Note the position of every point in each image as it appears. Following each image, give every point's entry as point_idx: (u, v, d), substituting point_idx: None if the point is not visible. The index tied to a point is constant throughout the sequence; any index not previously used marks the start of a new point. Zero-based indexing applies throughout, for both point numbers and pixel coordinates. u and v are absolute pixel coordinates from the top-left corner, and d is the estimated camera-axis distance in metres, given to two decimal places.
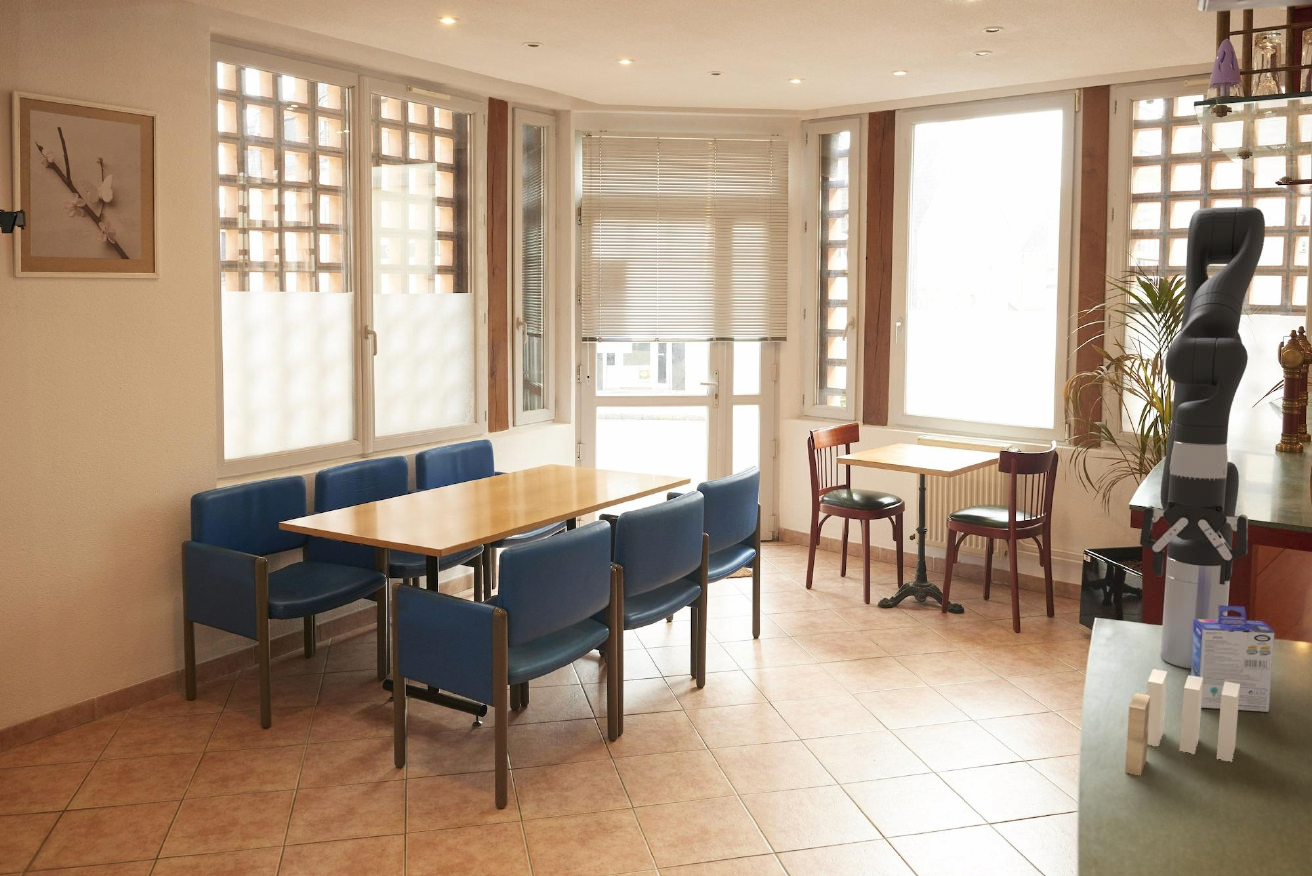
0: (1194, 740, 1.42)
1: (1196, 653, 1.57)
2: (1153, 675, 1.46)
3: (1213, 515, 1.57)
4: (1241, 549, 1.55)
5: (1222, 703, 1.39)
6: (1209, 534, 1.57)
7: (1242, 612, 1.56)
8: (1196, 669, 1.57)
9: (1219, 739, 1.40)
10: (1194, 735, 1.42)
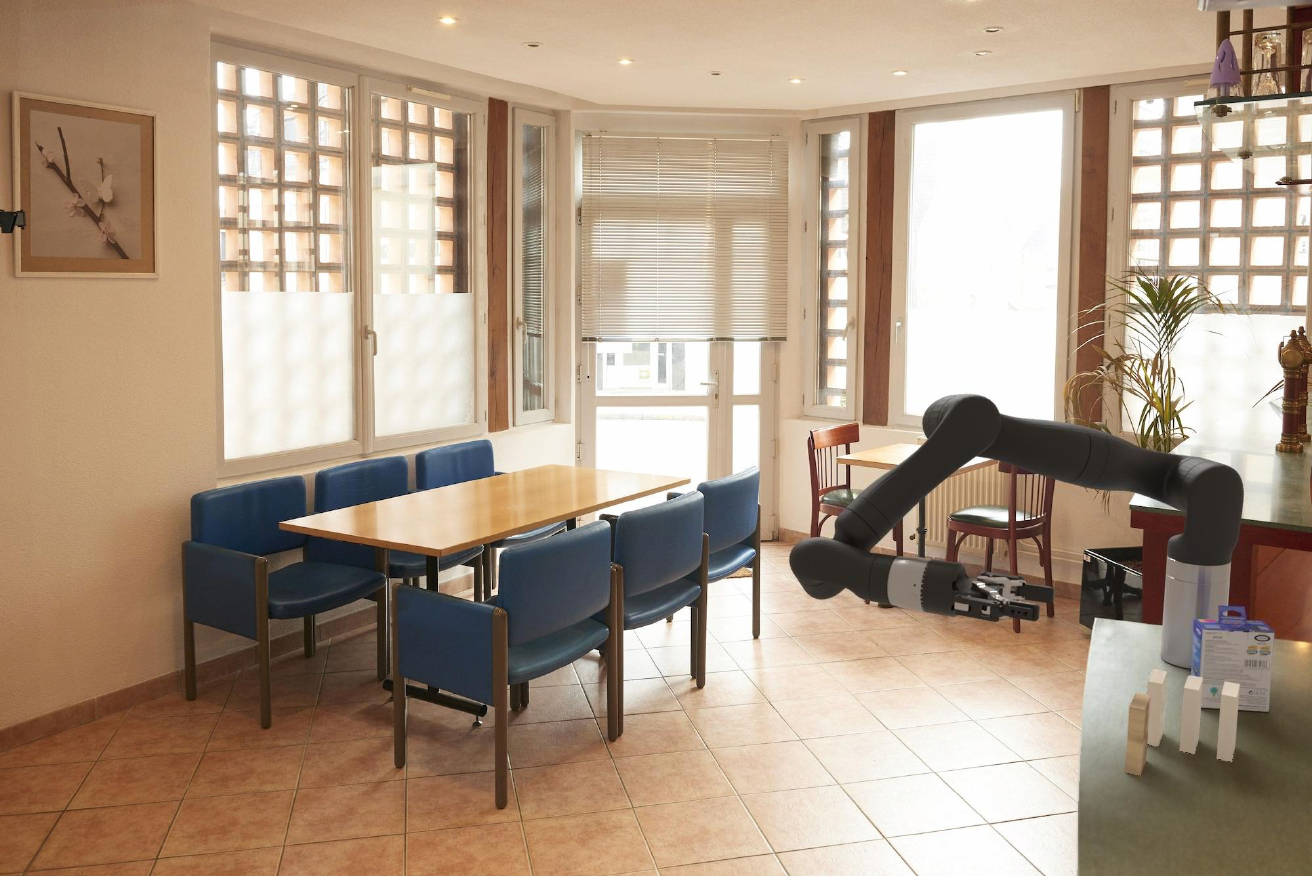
0: (1194, 740, 1.42)
1: (1196, 653, 1.57)
2: (1153, 675, 1.46)
3: None
4: None
5: (1222, 703, 1.39)
6: None
7: (1242, 612, 1.56)
8: (1196, 669, 1.57)
9: (1219, 739, 1.40)
10: (1194, 735, 1.42)
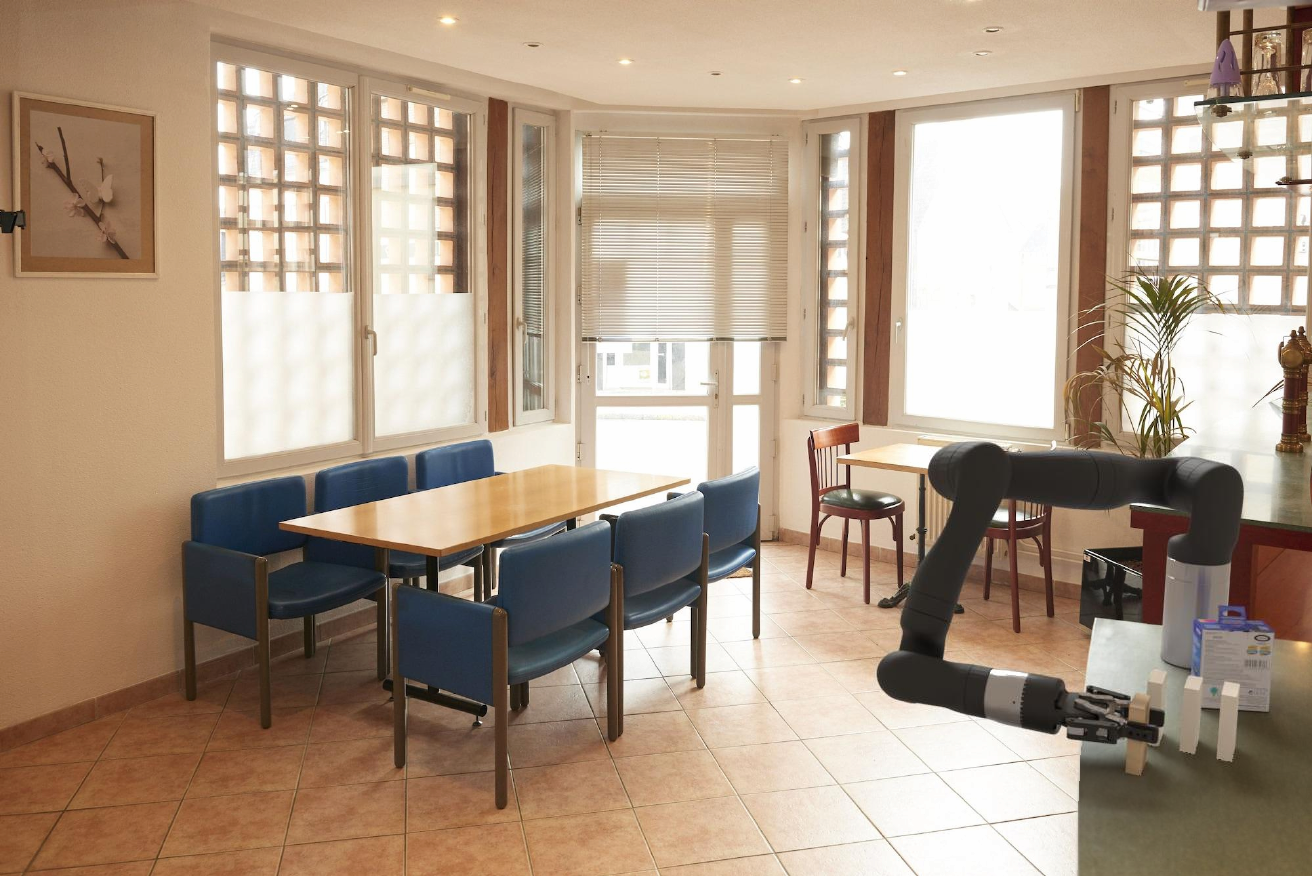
0: (1194, 740, 1.42)
1: (1196, 653, 1.57)
2: (1153, 675, 1.46)
3: None
4: None
5: (1222, 703, 1.39)
6: None
7: (1242, 612, 1.56)
8: (1196, 669, 1.57)
9: (1219, 739, 1.40)
10: (1194, 735, 1.42)
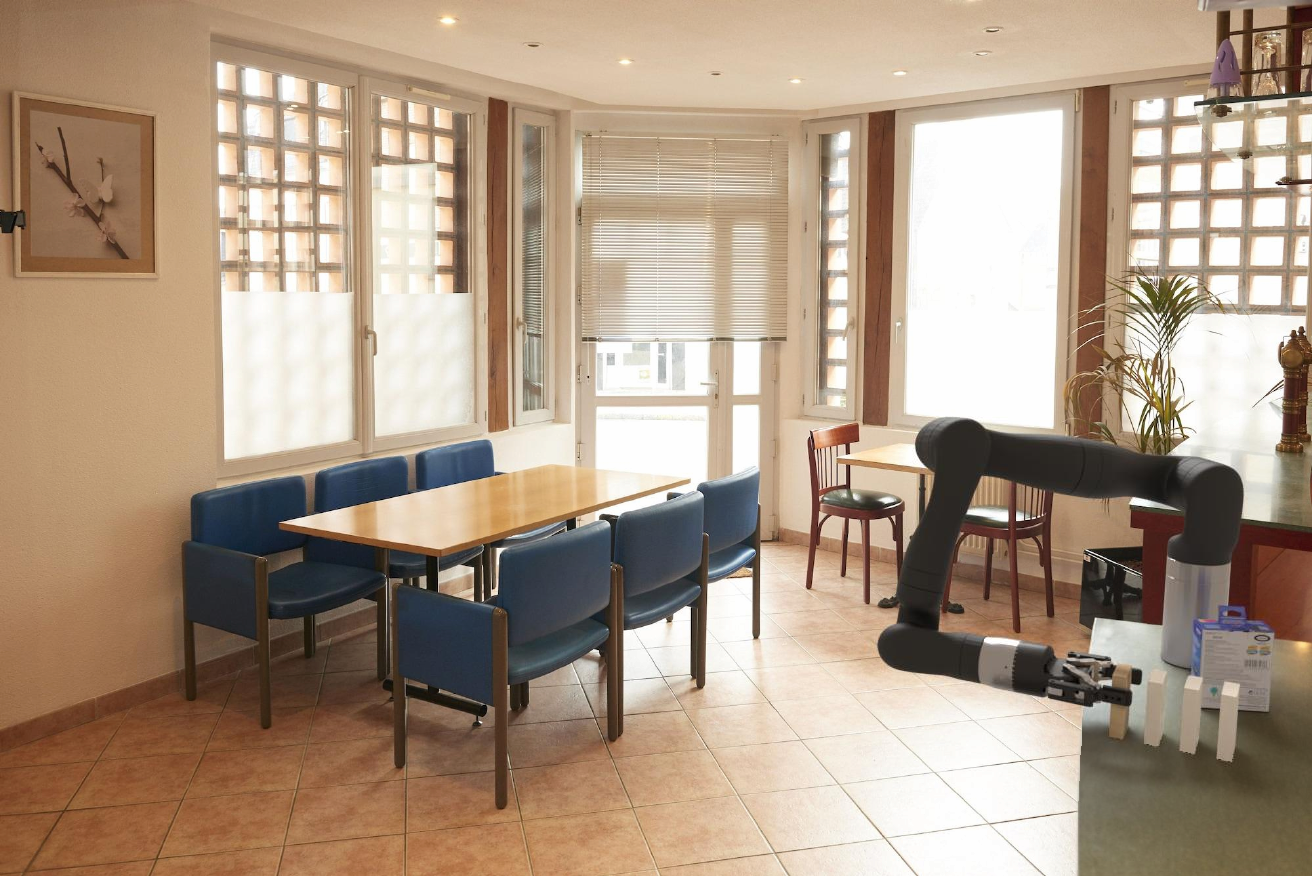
0: (1194, 740, 1.42)
1: (1196, 653, 1.57)
2: (1153, 675, 1.46)
3: None
4: None
5: (1222, 703, 1.39)
6: None
7: (1242, 612, 1.56)
8: (1196, 669, 1.57)
9: (1219, 739, 1.40)
10: (1194, 735, 1.42)
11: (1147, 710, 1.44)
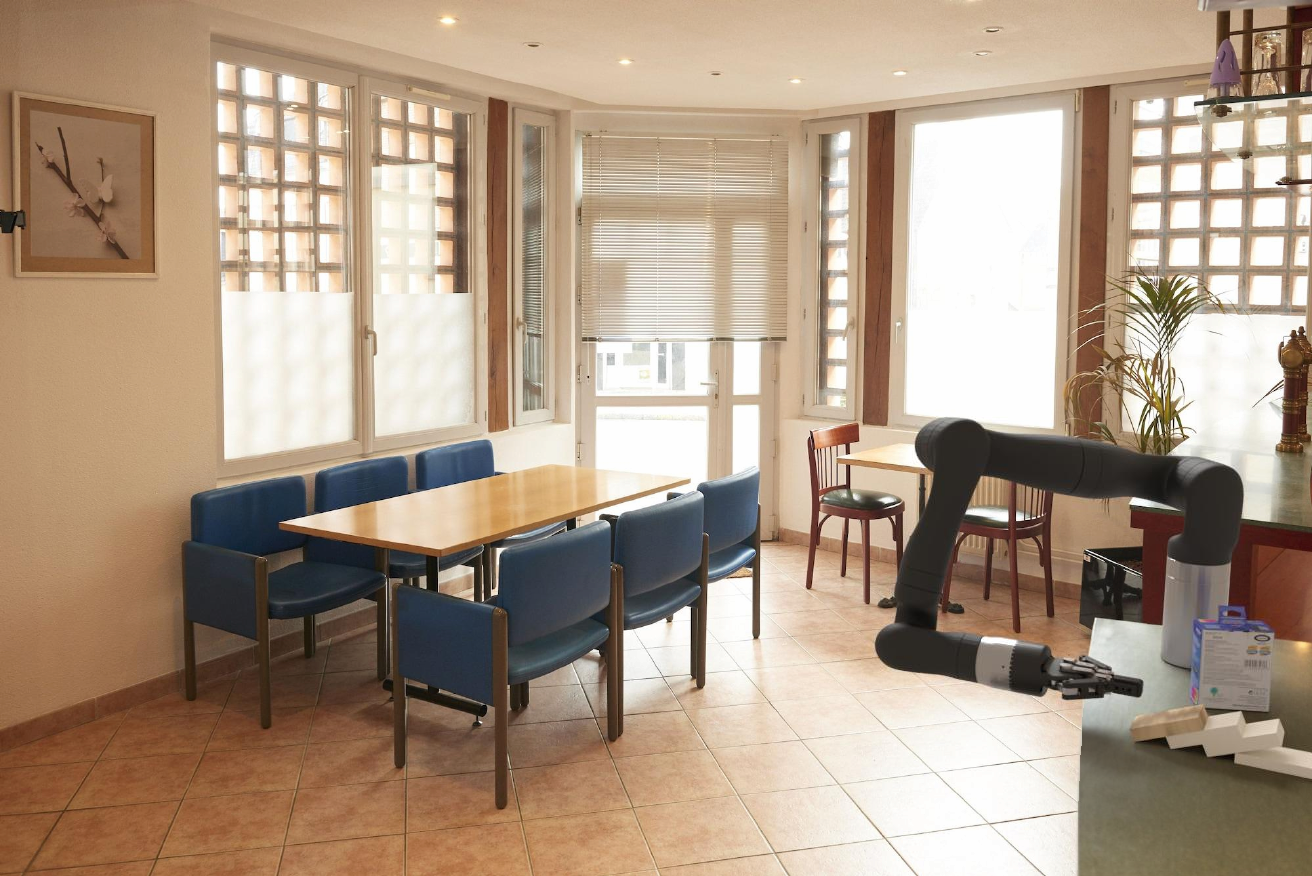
0: (1222, 754, 1.40)
1: (1196, 653, 1.57)
2: (1240, 720, 1.41)
3: None
4: None
5: (1304, 768, 1.35)
6: None
7: (1242, 612, 1.56)
8: (1196, 669, 1.57)
9: (1259, 759, 1.38)
10: (1228, 752, 1.40)
11: (1204, 731, 1.41)
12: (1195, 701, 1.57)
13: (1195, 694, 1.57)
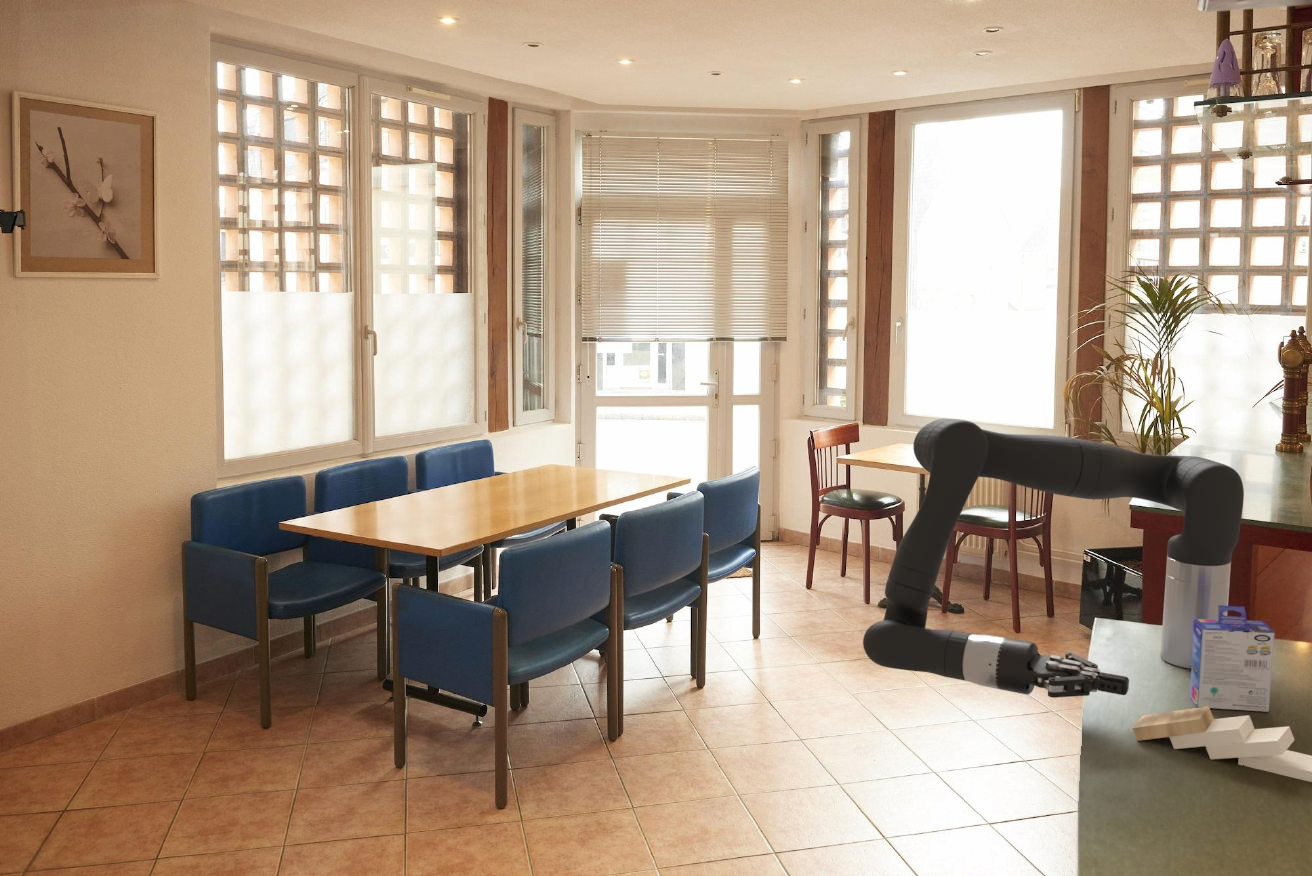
0: (1225, 757, 1.39)
1: (1196, 653, 1.57)
2: (1245, 724, 1.39)
3: None
4: None
5: (1308, 772, 1.34)
6: None
7: (1242, 612, 1.56)
8: (1196, 669, 1.57)
9: (1263, 761, 1.37)
10: (1230, 756, 1.39)
11: (1206, 733, 1.40)
12: (1195, 701, 1.57)
13: (1195, 694, 1.57)
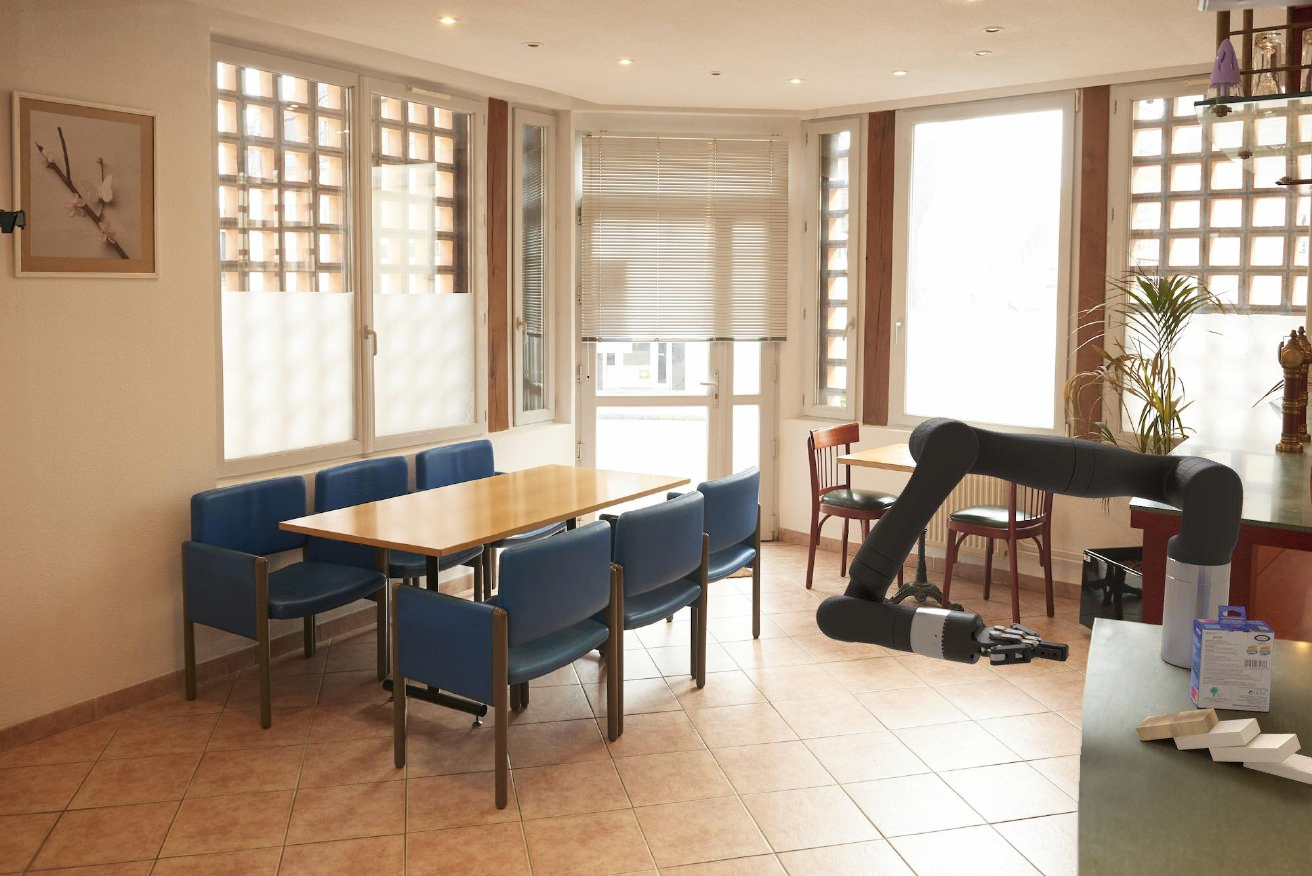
0: (1227, 760, 1.38)
1: (1196, 653, 1.57)
2: (1248, 727, 1.38)
3: None
4: None
5: None
6: None
7: (1242, 612, 1.56)
8: (1196, 669, 1.57)
9: (1268, 764, 1.37)
10: (1232, 760, 1.38)
11: (1209, 735, 1.40)
12: (1195, 701, 1.57)
13: (1195, 694, 1.57)
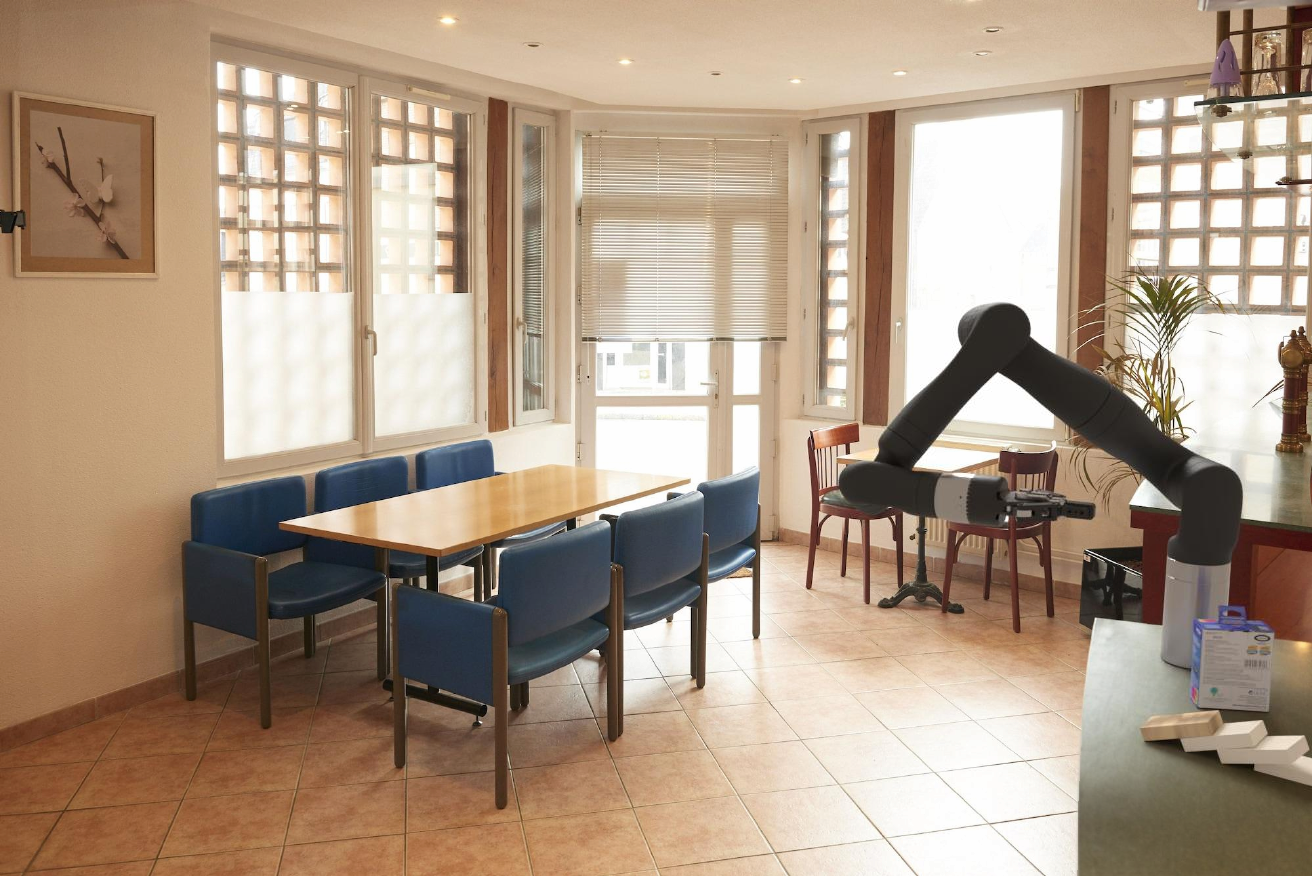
0: (1235, 762, 1.38)
1: (1196, 653, 1.57)
2: (1257, 729, 1.38)
3: None
4: None
5: None
6: None
7: (1242, 612, 1.56)
8: (1196, 669, 1.57)
9: (1279, 767, 1.35)
10: (1241, 762, 1.37)
11: (1217, 737, 1.39)
12: (1195, 701, 1.57)
13: (1195, 694, 1.57)
